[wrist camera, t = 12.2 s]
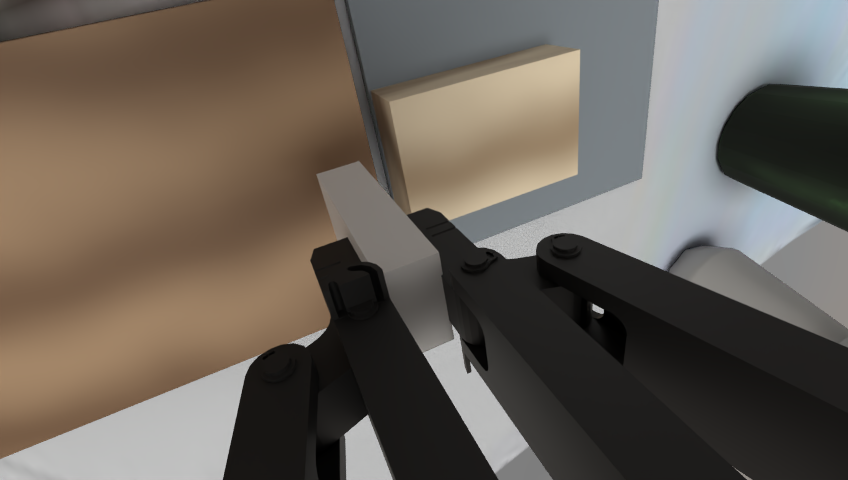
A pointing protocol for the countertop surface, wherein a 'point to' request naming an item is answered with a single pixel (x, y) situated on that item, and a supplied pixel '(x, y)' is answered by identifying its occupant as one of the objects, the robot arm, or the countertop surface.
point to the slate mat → (511, 32)
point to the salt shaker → (755, 288)
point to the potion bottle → (792, 148)
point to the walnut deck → (163, 201)
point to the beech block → (481, 130)
